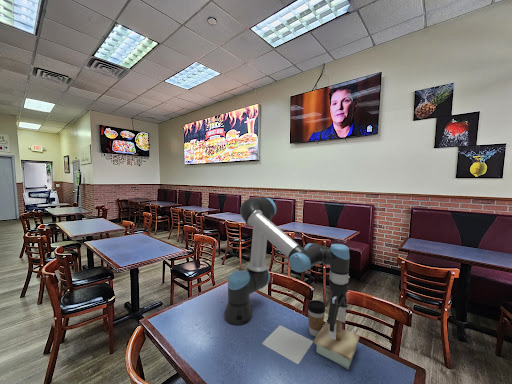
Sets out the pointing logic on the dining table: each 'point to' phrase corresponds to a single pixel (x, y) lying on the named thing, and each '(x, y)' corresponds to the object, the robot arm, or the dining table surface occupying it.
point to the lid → (338, 341)
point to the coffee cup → (315, 316)
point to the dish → (334, 357)
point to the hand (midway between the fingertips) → (337, 329)
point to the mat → (288, 344)
